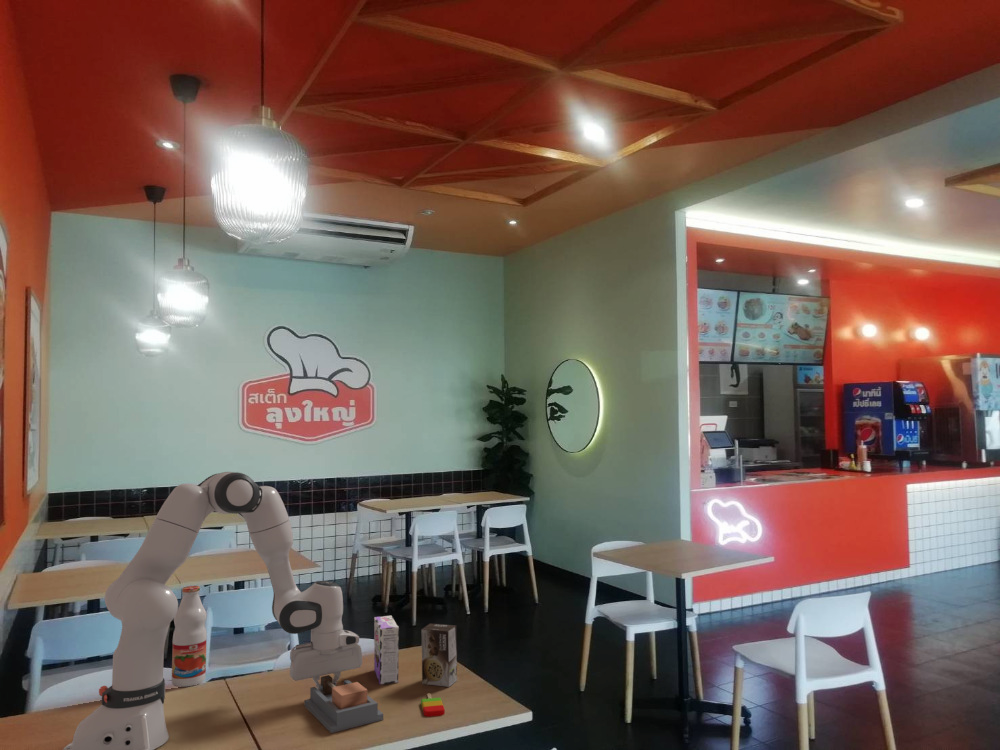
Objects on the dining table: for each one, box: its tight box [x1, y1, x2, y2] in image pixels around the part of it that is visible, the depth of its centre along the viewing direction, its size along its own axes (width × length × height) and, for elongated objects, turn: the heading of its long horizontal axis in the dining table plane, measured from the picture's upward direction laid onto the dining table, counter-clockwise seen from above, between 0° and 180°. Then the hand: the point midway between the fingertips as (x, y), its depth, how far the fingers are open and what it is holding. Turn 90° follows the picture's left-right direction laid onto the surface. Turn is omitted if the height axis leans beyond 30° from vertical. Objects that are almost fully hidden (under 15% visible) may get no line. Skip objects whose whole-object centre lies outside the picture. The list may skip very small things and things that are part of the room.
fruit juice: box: [171, 585, 208, 688], centre depth 210 cm, size 9×9×28 cm
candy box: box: [373, 615, 400, 685], centre depth 212 cm, size 14×6×16 cm, turn 17°
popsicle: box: [420, 692, 446, 718], centre depth 189 cm, size 6×15×2 cm, turn 12°
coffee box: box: [420, 623, 458, 688], centre depth 207 cm, size 9×6×16 cm
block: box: [320, 674, 368, 710], centre depth 187 cm, size 7×23×7 cm, turn 33°
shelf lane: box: [303, 679, 384, 734], centre depth 184 cm, size 14×21×4 cm, turn 34°
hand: (326, 689), depth 195 cm, fingers closed on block, 2 cm apart
